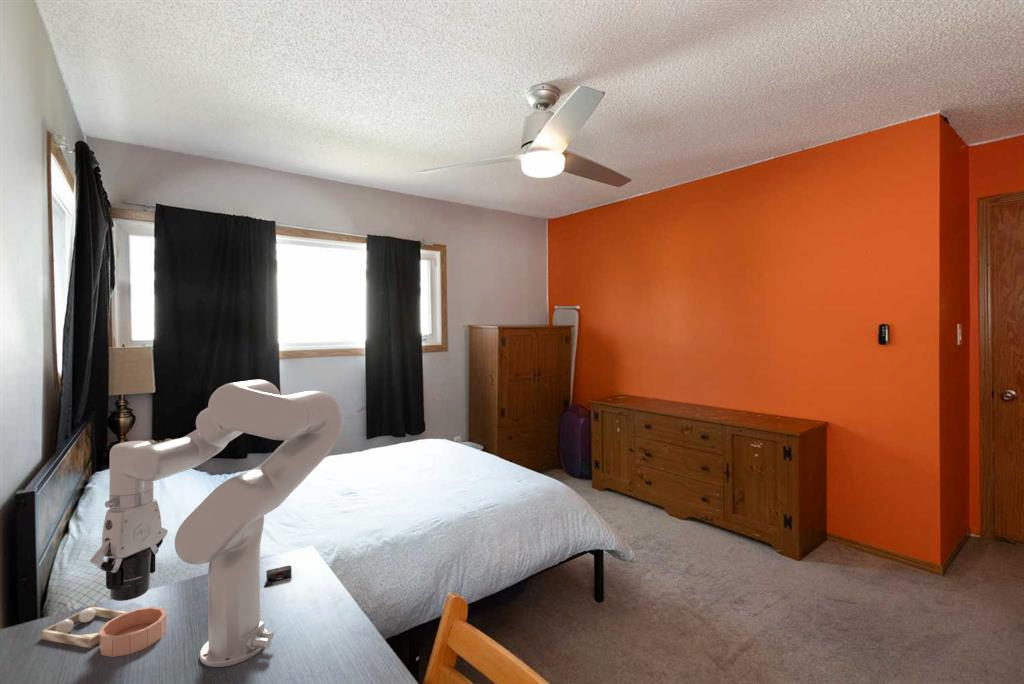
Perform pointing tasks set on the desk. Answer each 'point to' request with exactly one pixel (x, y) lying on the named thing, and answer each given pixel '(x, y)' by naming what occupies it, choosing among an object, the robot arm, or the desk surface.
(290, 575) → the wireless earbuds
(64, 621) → the pebble
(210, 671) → the desk surface
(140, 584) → the supplement bottle
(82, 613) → the pebble
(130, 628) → the bowl
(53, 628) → the tray
